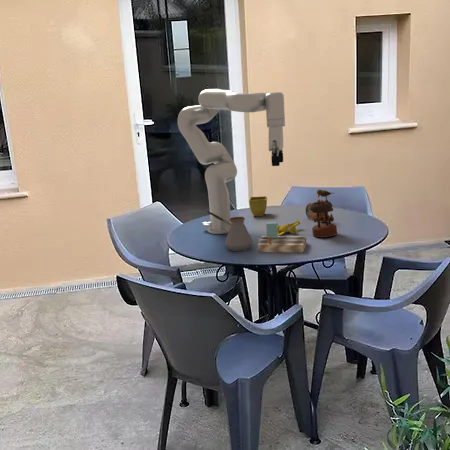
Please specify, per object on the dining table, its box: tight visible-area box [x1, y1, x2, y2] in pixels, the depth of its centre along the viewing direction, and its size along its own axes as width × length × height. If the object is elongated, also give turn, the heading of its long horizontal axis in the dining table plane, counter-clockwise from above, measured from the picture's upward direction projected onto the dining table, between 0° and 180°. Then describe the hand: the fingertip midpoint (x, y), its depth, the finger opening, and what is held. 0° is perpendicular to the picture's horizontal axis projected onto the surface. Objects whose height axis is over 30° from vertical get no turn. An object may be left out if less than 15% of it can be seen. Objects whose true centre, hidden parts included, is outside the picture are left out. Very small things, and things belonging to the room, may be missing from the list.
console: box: [257, 235, 307, 253], centre depth 216 cm, size 18×12×6 cm, turn 75°
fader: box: [265, 221, 278, 239], centre depth 216 cm, size 4×3×7 cm
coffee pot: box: [206, 210, 253, 252], centre depth 221 cm, size 21×12×15 cm, turn 55°
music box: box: [310, 189, 338, 238], centre depth 227 cm, size 15×11×20 cm
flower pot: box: [248, 195, 268, 217], centre depth 272 cm, size 9×9×9 cm
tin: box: [305, 202, 329, 224], centre depth 253 cm, size 15×3×8 cm, turn 27°
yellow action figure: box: [277, 220, 301, 236], centre depth 239 cm, size 19×4×15 cm
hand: (277, 164), depth 223 cm, fingers open, 9 cm apart
